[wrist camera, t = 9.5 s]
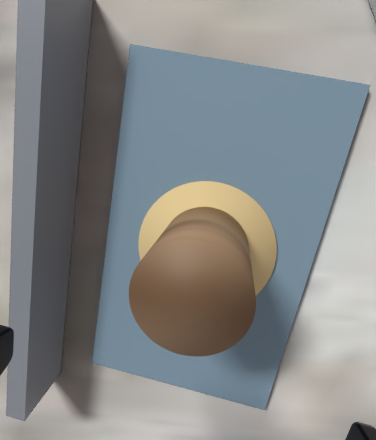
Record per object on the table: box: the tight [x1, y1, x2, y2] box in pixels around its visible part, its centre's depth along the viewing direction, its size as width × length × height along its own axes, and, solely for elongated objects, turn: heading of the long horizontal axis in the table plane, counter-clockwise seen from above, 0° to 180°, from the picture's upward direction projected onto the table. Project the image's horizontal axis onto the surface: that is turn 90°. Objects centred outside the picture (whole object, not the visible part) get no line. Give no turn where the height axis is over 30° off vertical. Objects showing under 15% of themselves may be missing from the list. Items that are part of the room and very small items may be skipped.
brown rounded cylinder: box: [129, 207, 256, 357], centre depth 15 cm, size 5×5×6 cm
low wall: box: [6, 0, 93, 421], centre depth 17 cm, size 24×1×4 cm, turn 169°
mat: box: [92, 44, 370, 410], centre depth 18 cm, size 20×12×1 cm, turn 169°
